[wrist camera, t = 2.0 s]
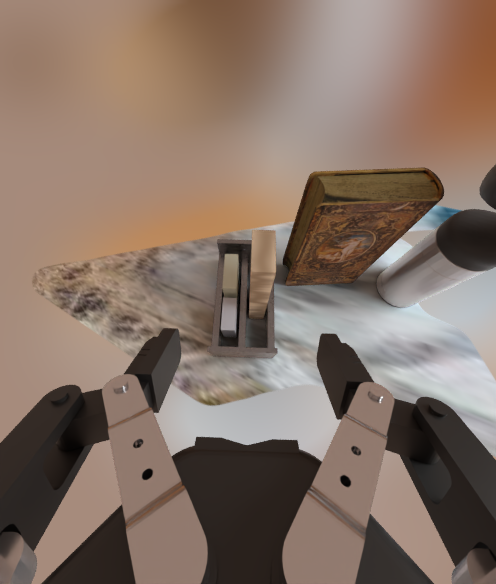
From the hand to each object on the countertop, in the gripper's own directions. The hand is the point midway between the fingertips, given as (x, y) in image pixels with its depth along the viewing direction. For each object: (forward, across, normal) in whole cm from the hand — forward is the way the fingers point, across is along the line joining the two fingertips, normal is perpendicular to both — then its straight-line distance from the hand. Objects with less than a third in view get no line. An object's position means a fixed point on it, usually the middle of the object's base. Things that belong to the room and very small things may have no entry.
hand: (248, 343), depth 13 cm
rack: (+33, +1, +14) cm, 36 cm away
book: (+39, -16, +9) cm, 43 cm away
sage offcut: (+36, +4, +12) cm, 38 cm away
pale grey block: (+30, +4, +17) cm, 35 cm away
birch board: (+33, -2, +14) cm, 36 cm away
